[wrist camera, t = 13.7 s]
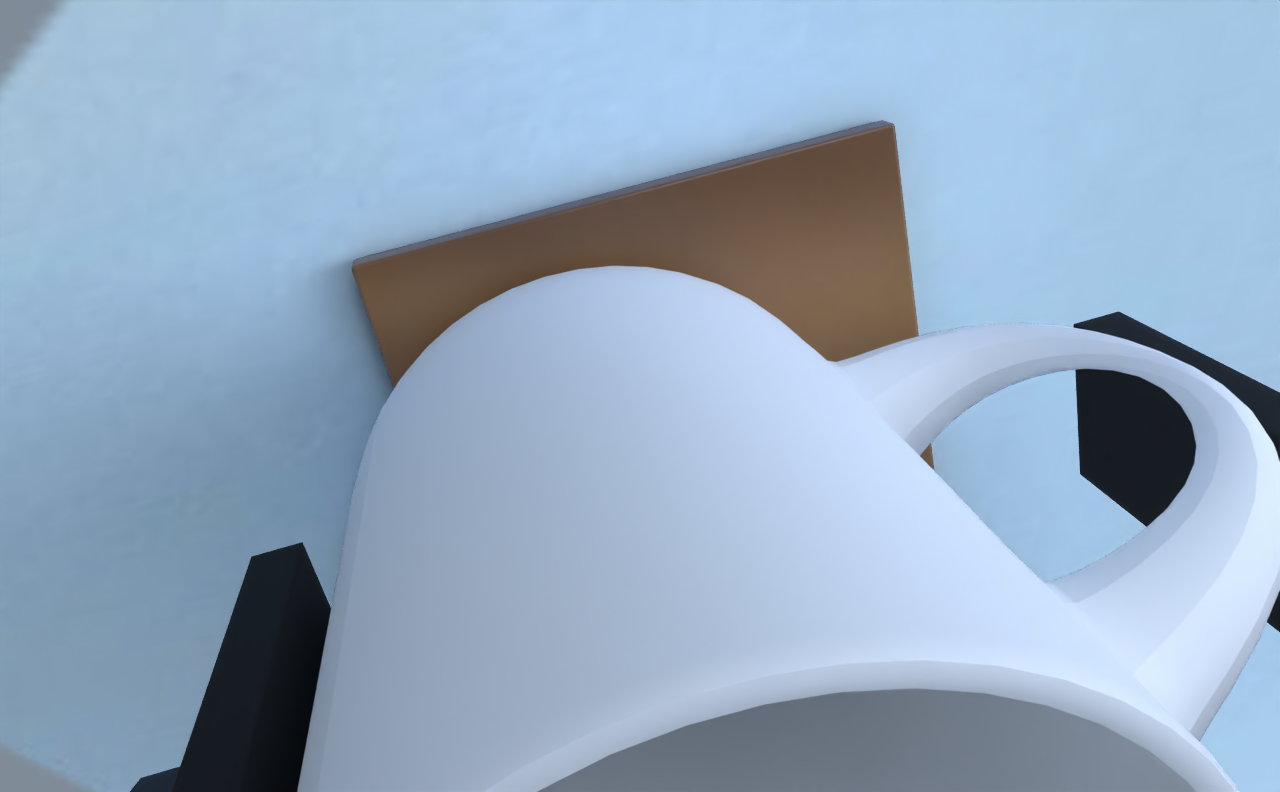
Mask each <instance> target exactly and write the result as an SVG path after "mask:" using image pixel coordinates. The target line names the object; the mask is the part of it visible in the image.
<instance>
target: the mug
mask: <svg viewBox="0 0 1280 792" xmlns="http://www.w3.org/2000/svg"><path fill="white" fill-rule="evenodd" d="M1077 369H1099V370H1114V371H1118V372H1122V373H1127V374H1131V375H1135V376H1139V377H1141V378H1143V379H1145V380H1147V381H1149V382H1151V383H1153V384H1155V385H1156V386H1158V387H1160V388H1162V389H1164V390H1165V391H1166V392H1167V393H1168V394H1169V395H1170V396H1171V397H1172V398H1174V399H1175V400H1176V401H1177V402H1178V403H1179V404H1180V405H1181V407H1182V408H1183V410H1184V412H1185V413H1186V415H1187V417H1188V418H1189V420H1190V422H1191V423H1192V427H1193V432H1194V437H1195V441H1196V453H1195V462H1194V465H1193V468H1192V470H1191V472H1190V475H1189V477H1188V479H1187V481H1186V484H1185V486H1184V487H1183V488H1182V490H1181V491H1180V492H1179V493H1178V495H1177V496H1176V497H1175V499H1174V500H1173V501H1172V503H1171V504H1170V505H1169V507H1168V508H1167V509H1166V510H1165V511H1164V512H1163V513H1162V514H1161V515H1160V516H1158V517H1157V518H1156V519H1155V520H1154V521H1153V522H1152V523H1151V524H1150V525H1149V526H1147V527H1146V528H1145V529H1144V530H1143V531H1142V532H1141V533H1139V534H1138V535H1136V536H1135V537H1133V538H1132V539H1130V540H1129V541H1128V542H1126V543H1125V544H1123V545H1122V546H1120V547H1119V548H1117V549H1116V550H1114V551H1113V552H1112V553H1110V554H1108V555H1106V556H1104V557H1103V558H1101V559H1099V560H1097V561H1095V562H1093V563H1092V564H1090V565H1088V566H1086V567H1084V568H1082V569H1080V570H1079V571H1077V572H1074V573H1071V574H1068V575H1066V576H1063V577H1060V578H1058V579H1055V580H1052V581H1046V580H1041V579H1040V578H1038V577H1037V576H1036V575H1035V574H1034V573H1033V572H1032V571H1031V570H1030V569H1029V568H1028V567H1027V566H1026V565H1025V564H1024V563H1023V562H1022V561H1021V560H1020V559H1019V558H1018V557H1017V556H1016V555H1015V554H1014V553H1013V552H1012V551H1011V550H1010V549H1009V548H1008V547H1007V546H1006V545H1005V544H1004V543H1003V542H1002V541H1001V540H1000V539H999V538H998V537H997V536H996V535H995V534H994V533H993V532H992V531H991V530H990V529H989V528H988V527H987V526H986V525H985V523H984V522H983V521H982V520H981V519H980V518H979V517H978V516H977V515H976V514H975V513H974V512H973V511H972V510H971V509H970V508H969V506H968V505H967V504H966V503H965V502H964V501H963V500H962V499H961V498H960V497H959V496H958V495H957V494H956V493H955V492H954V491H953V490H952V489H951V488H950V487H949V486H948V485H947V484H946V483H945V481H944V480H943V479H942V478H941V477H940V476H939V475H938V474H937V473H936V472H935V471H934V470H933V469H932V468H931V467H930V466H929V465H928V464H927V463H926V462H925V461H924V460H923V459H922V458H921V457H920V455H921V454H922V452H923V451H924V450H925V449H926V448H927V447H928V446H929V444H930V443H931V442H932V441H933V440H934V439H935V438H936V437H937V436H938V435H939V434H940V433H941V432H942V431H943V430H944V429H945V428H946V427H947V426H948V425H949V424H950V423H951V422H952V421H953V420H954V419H956V418H957V417H958V416H959V415H961V414H962V413H963V412H964V411H966V410H967V409H968V408H970V407H971V406H973V405H975V404H976V403H978V402H979V401H981V400H982V399H984V398H986V397H987V396H989V395H991V394H993V393H995V392H997V391H999V390H1001V389H1003V388H1005V387H1008V386H1010V385H1013V384H1015V383H1018V382H1021V381H1024V380H1027V379H1030V378H1032V377H1036V376H1041V375H1045V374H1049V373H1054V372H1058V371H1067V370H1077ZM1279 591H1280V461H1279V458H1278V454H1277V451H1276V449H1275V446H1274V444H1273V442H1272V440H1271V439H1270V437H1269V436H1268V434H1267V433H1266V431H1265V430H1264V428H1263V427H1262V425H1261V424H1260V422H1259V421H1258V419H1257V418H1256V416H1255V415H1254V413H1253V412H1252V410H1250V409H1249V408H1248V407H1247V406H1246V405H1245V404H1244V403H1243V402H1242V401H1240V400H1239V399H1238V398H1237V397H1236V396H1235V395H1234V394H1233V393H1232V392H1230V391H1229V390H1228V389H1227V388H1226V387H1225V386H1224V385H1222V384H1221V383H1219V382H1218V381H1216V380H1214V379H1213V378H1211V377H1209V376H1208V375H1206V374H1205V373H1203V372H1201V371H1200V370H1198V369H1197V368H1195V367H1193V366H1191V365H1188V364H1186V363H1184V362H1182V361H1180V360H1177V359H1175V358H1173V357H1171V356H1169V355H1167V354H1164V353H1162V352H1160V351H1157V350H1155V349H1152V348H1149V347H1146V346H1143V345H1141V344H1138V343H1135V342H1132V341H1129V340H1126V339H1122V338H1119V337H1115V336H1111V335H1107V334H1103V333H1099V332H1095V331H1090V330H1084V329H1078V328H1072V327H1067V326H1061V325H1046V324H1032V323H1009V324H988V325H978V326H969V327H961V328H955V329H950V330H945V331H939V332H934V333H930V334H926V335H922V336H918V337H914V338H910V339H906V340H903V341H900V342H896V343H893V344H890V345H887V346H884V347H881V348H878V349H875V350H872V351H869V352H866V353H863V354H861V355H858V356H855V357H852V358H848V359H845V360H841V361H838V362H833V361H827V360H826V359H825V358H824V357H822V356H821V355H820V354H819V353H818V352H817V351H816V350H814V349H813V348H812V347H811V346H809V345H808V344H807V343H806V342H805V341H803V340H802V339H801V338H800V337H799V336H798V335H797V334H795V333H794V332H793V331H792V330H791V329H790V328H789V327H787V326H786V325H785V324H784V323H783V322H781V321H780V320H779V319H778V318H776V317H775V316H773V315H772V314H770V313H769V312H768V311H766V310H765V309H763V308H762V307H760V306H759V305H757V304H756V303H755V302H753V301H752V300H750V299H748V298H746V297H744V296H742V295H740V294H738V293H736V292H734V291H732V290H730V289H727V288H725V287H723V286H721V285H719V284H716V283H713V282H710V281H707V280H703V279H700V278H697V277H693V276H690V275H687V274H684V273H680V272H675V271H669V270H663V269H657V268H651V267H635V266H605V267H595V268H585V269H577V270H572V271H568V272H564V273H559V274H555V275H550V276H546V277H543V278H540V279H537V280H534V281H532V282H529V283H526V284H523V285H521V286H518V287H515V288H512V289H510V290H508V291H506V292H504V293H502V294H500V295H498V296H497V297H495V298H493V299H491V300H489V301H487V302H485V303H483V304H481V305H479V306H478V307H476V308H475V309H474V310H472V311H471V312H469V313H468V314H466V315H465V316H463V317H462V318H461V319H459V320H458V321H456V322H455V323H453V324H452V325H451V326H450V327H449V328H447V329H446V330H445V331H444V332H443V333H442V334H441V335H440V336H439V337H438V338H436V339H435V340H434V341H433V342H432V343H431V344H430V345H429V346H428V347H427V348H426V349H425V350H424V351H423V352H422V353H421V355H420V356H419V357H418V358H417V359H416V361H415V362H414V363H413V364H412V365H411V366H410V368H409V369H408V370H407V371H406V372H405V374H404V375H403V376H402V378H401V379H400V380H399V382H398V383H397V385H396V387H395V388H394V390H393V391H392V393H391V394H390V396H389V398H388V399H387V401H386V402H385V404H384V406H383V407H382V409H381V411H380V413H379V415H378V418H377V420H376V422H375V424H374V427H373V429H372V431H371V433H370V436H369V438H368V441H367V444H366V447H365V450H364V453H363V457H362V460H361V464H360V467H359V471H358V475H357V478H356V482H355V486H354V490H353V495H352V499H351V505H350V510H349V515H348V521H347V526H346V532H345V537H344V542H343V548H342V553H341V558H340V564H339V569H338V575H337V580H336V585H335V591H334V596H333V602H332V607H331V612H330V618H329V623H328V629H327V634H326V639H325V645H324V650H323V655H322V661H321V666H320V672H319V677H318V682H317V688H316V693H315V699H314V704H313V709H312V715H311V720H310V726H309V731H308V736H307V742H306V747H305V752H304V758H303V763H302V769H301V774H300V779H299V785H298V790H297V792H1239V790H1238V788H1237V786H1236V785H1235V784H1234V783H1233V781H1232V780H1231V779H1230V778H1229V776H1228V775H1227V774H1226V773H1225V771H1224V770H1223V769H1222V768H1221V766H1220V765H1219V764H1218V763H1217V761H1216V760H1215V759H1214V758H1213V756H1212V755H1211V754H1210V753H1209V751H1208V750H1207V749H1206V748H1205V747H1204V746H1203V745H1202V744H1201V743H1200V740H1201V738H1202V736H1203V735H1204V733H1205V731H1206V729H1207V728H1208V726H1209V724H1210V723H1211V721H1212V720H1213V718H1214V716H1215V715H1216V713H1217V712H1218V710H1219V708H1220V707H1221V705H1222V704H1223V702H1224V701H1225V699H1226V697H1227V696H1228V694H1229V693H1230V691H1231V689H1232V688H1233V686H1234V684H1235V683H1236V681H1237V679H1238V677H1239V675H1240V674H1241V672H1242V670H1243V668H1244V666H1245V665H1246V663H1247V661H1248V659H1249V657H1250V655H1251V654H1252V652H1253V650H1254V648H1255V646H1256V645H1257V643H1258V641H1259V639H1260V637H1261V634H1262V632H1263V630H1264V627H1265V625H1266V622H1267V620H1268V617H1269V615H1270V613H1271V610H1272V608H1273V605H1274V603H1275V600H1276V598H1277V596H1278V593H1279Z"/></svg>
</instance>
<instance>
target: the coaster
mask: <svg viewBox="0 0 1280 792" xmlns="http://www.w3.org/2000/svg"><path fill="white" fill-rule="evenodd" d="M605 266H635V267H651V268H657V269H663V270H669V271H675V272H680V273H684V274H687V275H690V276H693V277H697V278H700V279H703V280H707V281H710V282H713V283H716V284H719V285H721V286H723V287H725V288H727V289H730V290H732V291H734V292H736V293H738V294H740V295H742V296H744V297H746V298H748V299H750V300H752V301H753V302H755V303H756V304H757V305H759V306H760V307H762V308H763V309H765V310H766V311H768V312H769V313H770V314H772V315H773V316H775V317H776V318H778V319H779V320H780V321H781V322H783V323H784V324H785V325H786V326H787V327H789V328H790V329H791V330H792V331H793V332H794V333H795V334H797V335H798V336H799V337H800V338H801V339H802V340H803V341H805V342H806V343H807V344H808V345H809V346H811V347H812V348H813V349H814V350H816V351H817V352H818V353H819V354H820V355H821V356H822V357H824V358H825V359H826V360H827V361H833V362H838V361H841V360H845V359H848V358H852V357H855V356H858V355H861V354H863V353H866V352H869V351H872V350H875V349H878V348H881V347H884V346H887V345H890V344H893V343H896V342H900V341H903V340H906V339H910V338H914V337H918V336H919V335H918V326H917V317H916V308H915V300H914V291H913V282H912V273H911V265H910V256H909V247H908V238H907V230H906V221H905V212H904V203H903V195H902V186H901V177H900V168H899V160H898V151H897V142H896V134H895V126H894V124H892V123H889V122H886V121H883V120H881V121H877V122H873V123H870V124H866V125H862V126H858V127H855V128H851V129H847V130H843V131H839V132H836V133H832V134H828V135H824V136H820V137H817V138H813V139H809V140H805V141H802V142H798V143H794V144H790V145H786V146H783V147H779V148H775V149H771V150H767V151H764V152H760V153H756V154H752V155H749V156H745V157H741V158H737V159H733V160H730V161H726V162H722V163H718V164H714V165H711V166H707V167H703V168H699V169H696V170H692V171H688V172H684V173H680V174H677V175H673V176H669V177H665V178H661V179H658V180H654V181H650V182H646V183H643V184H639V185H635V186H631V187H627V188H624V189H620V190H616V191H612V192H608V193H605V194H601V195H597V196H593V197H589V198H586V199H582V200H578V201H574V202H571V203H567V204H563V205H559V206H555V207H552V208H548V209H544V210H540V211H536V212H533V213H529V214H525V215H521V216H518V217H514V218H510V219H506V220H502V221H499V222H495V223H491V224H487V225H483V226H480V227H476V228H472V229H468V230H465V231H461V232H457V233H453V234H449V235H446V236H442V237H438V238H434V239H430V240H427V241H423V242H419V243H415V244H412V245H408V246H404V247H400V248H396V249H393V250H389V251H385V252H381V253H377V254H374V255H370V256H366V257H362V258H359V259H356V260H354V262H353V265H352V272H353V275H354V278H355V281H356V284H357V286H358V289H359V292H360V295H361V298H362V300H363V303H364V306H365V309H366V312H367V314H368V317H369V320H370V323H371V326H372V328H373V331H374V334H375V337H376V340H377V342H378V345H379V348H380V351H381V353H382V356H383V359H384V362H385V365H386V367H387V370H388V373H389V376H390V379H391V381H392V384H393V387H394V388H395V387H396V385H397V383H398V382H399V380H400V379H401V378H402V376H403V375H404V374H405V372H406V371H407V370H408V369H409V368H410V366H411V365H412V364H413V363H414V362H415V361H416V359H417V358H418V357H419V356H420V355H421V353H422V352H423V351H424V350H425V349H426V348H427V347H428V346H429V345H430V344H431V343H432V342H433V341H434V340H435V339H436V338H438V337H439V336H440V335H441V334H442V333H443V332H444V331H445V330H446V329H447V328H449V327H450V326H451V325H452V324H453V323H455V322H456V321H458V320H459V319H461V318H462V317H463V316H465V315H466V314H468V313H469V312H471V311H472V310H474V309H475V308H476V307H478V306H479V305H481V304H483V303H485V302H487V301H489V300H491V299H493V298H495V297H497V296H498V295H500V294H502V293H504V292H506V291H508V290H510V289H512V288H515V287H518V286H521V285H523V284H526V283H529V282H532V281H534V280H537V279H540V278H543V277H546V276H550V275H555V274H559V273H564V272H568V271H572V270H577V269H585V268H595V267H605ZM920 457H921V458H922V459H923V460H924V461H925V462H926V463H927V464H928V465H929V466H930V467H931V468H932V469H933V470H934V466H933V457H932V448H931V443H930V444H929V446H928V447H927V448H926V449H925V450H924V451H923V452H922V454H921V455H920Z"/></svg>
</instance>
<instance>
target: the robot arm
mask: <svg viewBox="0 0 1280 792" xmlns="http://www.w3.org/2000/svg"><path fill="white" fill-rule="evenodd" d="M1074 328H1078V329H1084V330H1090V331H1095V332H1099V333H1103V334H1107V335H1111V336H1115V337H1119V338H1122V339H1126V340H1129V341H1132V342H1135V343H1138V344H1141V345H1143V346H1146V347H1149V348H1152V349H1155V350H1157V351H1160V352H1162V353H1164V354H1167V355H1169V356H1171V357H1173V358H1175V359H1177V360H1180V361H1182V362H1184V363H1186V364H1188V365H1191V366H1193V367H1195V368H1197V369H1198V370H1200V371H1201V372H1203V373H1205V374H1206V375H1208V376H1209V377H1211V378H1213V379H1214V380H1216V381H1218V382H1219V383H1221V384H1222V385H1224V386H1225V387H1226V388H1227V389H1228V390H1229V391H1230V392H1232V393H1233V394H1234V395H1235V396H1236V397H1237V398H1238V399H1239V400H1240V401H1242V402H1243V403H1244V404H1245V405H1246V406H1247V407H1248V408H1249V409H1250V410H1252V412H1253V413H1254V415H1255V416H1256V418H1257V419H1258V421H1259V422H1260V424H1261V425H1262V427H1263V428H1264V430H1265V431H1266V433H1267V434H1268V436H1269V437H1270V439H1271V440H1272V442H1273V444H1274V446H1275V449H1276V451H1277V454H1278V458H1279V461H1280V393H1279V392H1277V391H1275V390H1273V389H1271V388H1269V387H1267V386H1265V385H1263V384H1261V383H1259V382H1257V381H1256V380H1254V379H1252V378H1250V377H1248V376H1246V375H1244V374H1242V373H1240V372H1238V371H1236V370H1234V369H1232V368H1230V367H1228V366H1226V365H1224V364H1222V363H1220V362H1218V361H1216V360H1214V359H1212V358H1210V357H1208V356H1206V355H1204V354H1202V353H1200V352H1198V351H1196V350H1194V349H1192V348H1190V347H1188V346H1186V345H1184V344H1182V343H1180V342H1178V341H1176V340H1174V339H1172V338H1170V337H1168V336H1166V335H1164V334H1162V333H1160V332H1158V331H1156V330H1154V329H1152V328H1150V327H1148V326H1146V325H1144V324H1142V323H1140V322H1138V321H1136V320H1134V319H1132V318H1131V317H1129V316H1127V315H1125V314H1123V313H1121V312H1115V313H1112V314H1108V315H1105V316H1101V317H1098V318H1094V319H1091V320H1087V321H1084V322H1080V323H1077V324H1074ZM1076 391H1077V414H1078V436H1079V459H1080V474H1081V475H1082V476H1083V477H1085V478H1086V479H1087V480H1088V481H1090V482H1091V483H1092V484H1093V485H1095V486H1096V487H1097V488H1098V489H1100V490H1101V491H1102V492H1103V493H1105V494H1106V495H1107V496H1109V497H1110V498H1111V499H1112V500H1114V501H1115V502H1116V503H1117V504H1119V505H1120V506H1121V507H1122V508H1124V509H1125V510H1126V511H1127V512H1129V513H1130V514H1131V515H1133V516H1134V517H1135V518H1136V519H1138V520H1139V521H1140V522H1141V523H1143V524H1144V525H1145V526H1146V527H1147V526H1149V525H1150V524H1151V523H1152V522H1153V521H1154V520H1155V519H1156V518H1157V517H1158V516H1160V515H1161V514H1162V513H1163V512H1164V511H1165V510H1166V509H1167V508H1168V507H1169V505H1170V504H1171V503H1172V501H1173V500H1174V499H1175V497H1176V496H1177V495H1178V493H1179V492H1180V491H1181V490H1182V488H1183V487H1184V486H1185V484H1186V481H1187V479H1188V477H1189V475H1190V472H1191V470H1192V468H1193V465H1194V462H1195V453H1196V441H1195V437H1194V432H1193V427H1192V423H1191V422H1190V420H1189V418H1188V417H1187V415H1186V413H1185V412H1184V410H1183V408H1182V407H1181V405H1180V404H1179V403H1178V402H1177V401H1176V400H1175V399H1174V398H1172V397H1171V396H1170V395H1169V394H1168V393H1167V392H1166V391H1165V390H1164V389H1162V388H1160V387H1158V386H1156V385H1155V384H1153V383H1151V382H1149V381H1147V380H1145V379H1143V378H1141V377H1139V376H1135V375H1131V374H1127V373H1122V372H1118V371H1114V370H1099V369H1077V370H1076ZM330 612H331V608H330V605H329V603H328V601H327V598H326V596H325V594H324V591H323V589H322V587H321V584H320V582H319V580H318V577H317V575H316V573H315V570H314V568H313V566H312V563H311V561H310V559H309V556H308V554H307V552H306V549H305V547H304V545H303V542H302V543H298V544H295V545H291V546H287V547H284V548H280V549H277V550H273V551H270V552H266V553H263V554H259V555H256V556H252V557H251V560H250V563H249V566H248V569H247V572H246V574H245V577H244V580H243V583H242V586H241V589H240V592H239V595H238V598H237V601H236V604H235V607H234V610H233V613H232V616H231V619H230V622H229V625H228V628H227V630H226V633H225V636H224V639H223V642H222V645H221V648H220V651H219V654H218V657H217V660H216V663H215V666H214V669H213V672H212V675H211V678H210V681H209V684H208V686H207V689H206V692H205V695H204V698H203V701H202V704H201V707H200V710H199V713H198V716H197V719H196V722H195V725H194V728H193V731H192V734H191V737H190V740H189V742H188V745H187V748H186V751H185V754H184V757H183V760H182V763H181V766H180V767H177V768H173V769H170V770H167V771H163V772H160V773H157V774H153V775H150V776H146V777H143V778H140V780H139V781H138V782H137V783H136V785H135V786H134V787H133V788H132V790H131V791H130V792H297V790H298V785H299V779H300V774H301V769H302V763H303V758H304V752H305V747H306V742H307V736H308V731H309V726H310V720H311V715H312V709H313V704H314V699H315V693H316V688H317V682H318V677H319V672H320V666H321V661H322V655H323V650H324V645H325V639H326V634H327V629H328V623H329V618H330ZM1267 622H1268V623H1269V624H1270V625H1271V626H1273V627H1274V628H1275V629H1276V630H1278V631H1279V632H1280V591H1279V593H1278V596H1277V598H1276V600H1275V603H1274V605H1273V608H1272V610H1271V613H1270V615H1269V617H1268V620H1267Z"/></svg>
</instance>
